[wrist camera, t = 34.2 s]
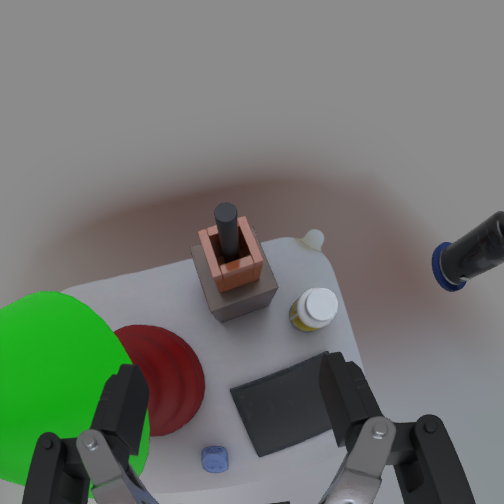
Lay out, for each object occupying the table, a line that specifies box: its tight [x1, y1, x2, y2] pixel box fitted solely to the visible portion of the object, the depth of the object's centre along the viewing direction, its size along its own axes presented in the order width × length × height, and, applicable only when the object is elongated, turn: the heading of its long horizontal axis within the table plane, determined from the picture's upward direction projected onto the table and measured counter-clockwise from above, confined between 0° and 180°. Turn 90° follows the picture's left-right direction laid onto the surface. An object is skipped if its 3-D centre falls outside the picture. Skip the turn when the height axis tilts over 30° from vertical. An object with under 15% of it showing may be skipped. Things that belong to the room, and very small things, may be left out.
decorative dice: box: [202, 446, 228, 473], centre depth 36 cm, size 4×4×4 cm
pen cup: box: [198, 216, 264, 293], centre depth 32 cm, size 5×5×8 cm
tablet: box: [230, 351, 332, 457], centre depth 41 cm, size 18×14×1 cm
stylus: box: [214, 203, 239, 264], centre depth 28 cm, size 2×2×14 cm
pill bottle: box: [290, 288, 338, 332], centre depth 42 cm, size 6×6×11 cm
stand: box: [190, 227, 278, 323], centre depth 42 cm, size 9×9×14 cm
